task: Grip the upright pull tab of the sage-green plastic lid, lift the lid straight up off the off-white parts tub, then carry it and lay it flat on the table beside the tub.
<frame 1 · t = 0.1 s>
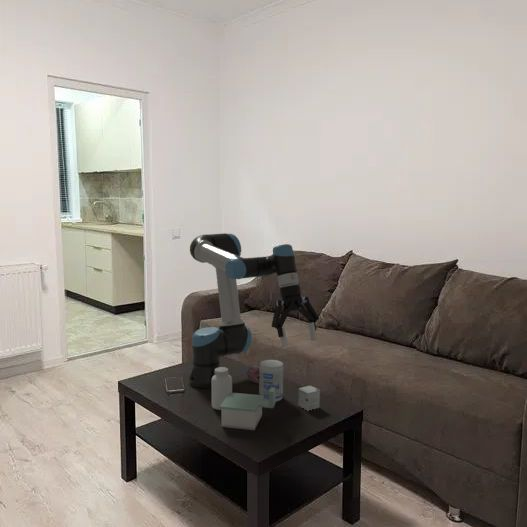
hand: (299, 343, 189), 28 cm above the table, tool tilted 20°, fingers open, 13 cm apart
skincare box: (308, 407, 201), on the table
video game controller: (255, 380, 230), on the table
lid: (242, 402, 187), point 7 cm above the table, touching parts tub
parts tub: (242, 421, 188), on the table
supplement tub: (271, 398, 209), on the table
pill bottle: (221, 406, 201), on the table
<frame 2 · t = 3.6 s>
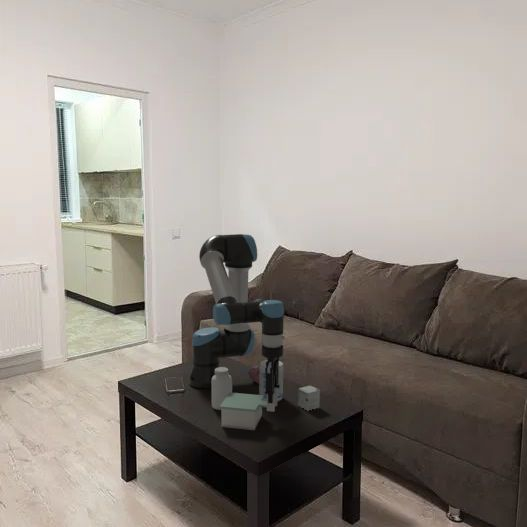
hand: (272, 407, 185), 6 cm above the table, tool pointing down, fingers closed on lid, 4 cm apart
lid: (242, 402, 187), point 7 cm above the table, touching gripper, parts tub
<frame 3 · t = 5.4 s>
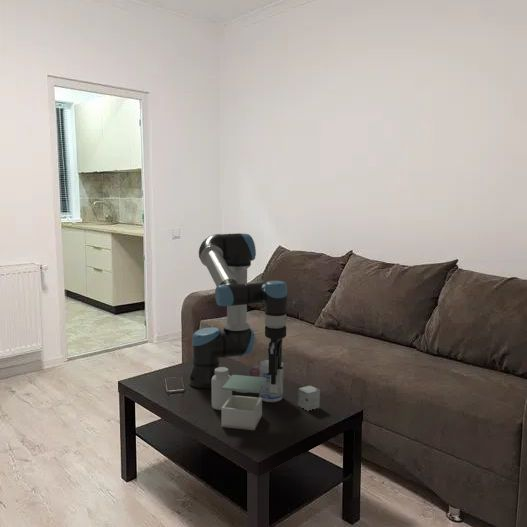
hand: (275, 389, 183), 13 cm above the table, tool pointing down, fingers closed on lid, 4 cm apart
lid: (245, 384, 186), point 14 cm above the table, touching gripper
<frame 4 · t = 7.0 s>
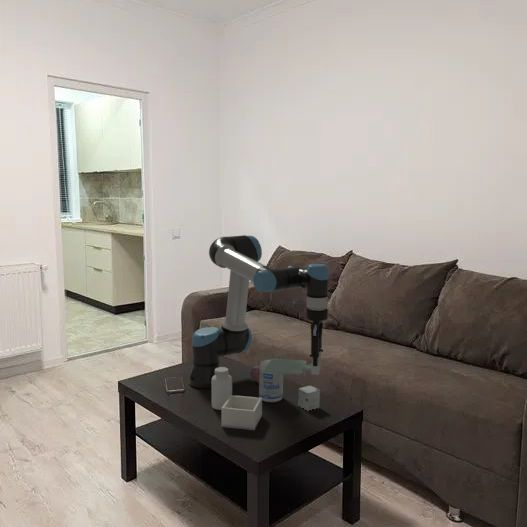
hand: (316, 371, 185), 19 cm above the table, tool pointing down, fingers closed on lid, 4 cm apart
lid: (285, 367, 188), point 20 cm above the table, touching gripper
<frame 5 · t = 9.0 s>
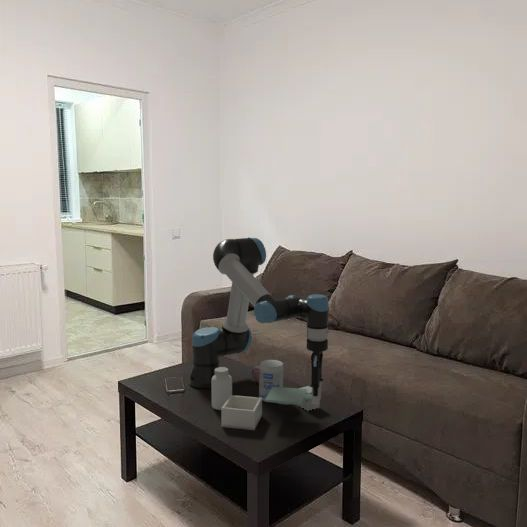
hand: (316, 401, 187), 8 cm above the table, tool pointing down, fingers closed on lid, 4 cm apart
lid: (286, 396, 189), point 8 cm above the table, touching gripper
when the fingers open (2 cm above the table, at t = 10.8 s): lid drops 2 cm, point 1 cm above the table.
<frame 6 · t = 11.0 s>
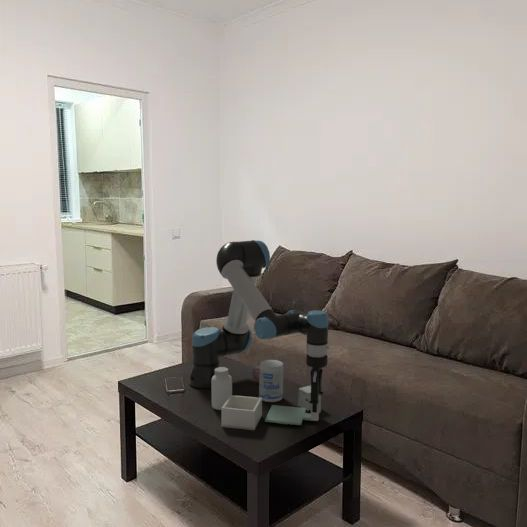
hand: (315, 415, 188), 2 cm above the table, tool pointing down, fingers open, 6 cm apart
lid: (286, 415, 190), point 1 cm above the table
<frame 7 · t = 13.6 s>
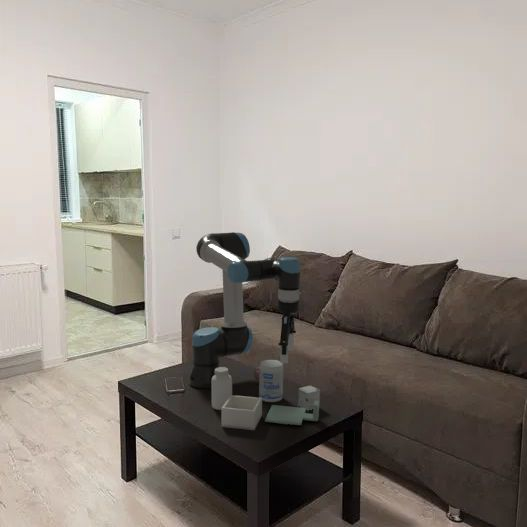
hand: (286, 356, 191), 22 cm above the table, tool pointing down, fingers open, 13 cm apart
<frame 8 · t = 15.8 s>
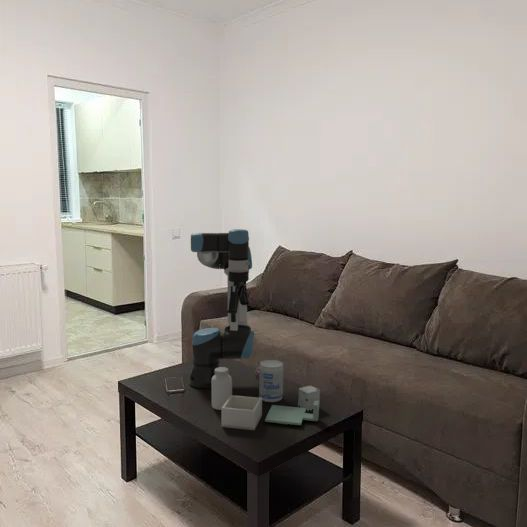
hand: (238, 325, 198), 32 cm above the table, tool pointing down, fingers open, 13 cm apart
at the end: lid inside the target area (0.1 cm from its centre), point 1.0 cm above the table; lid touching table; the gripper is holding nothing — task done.
